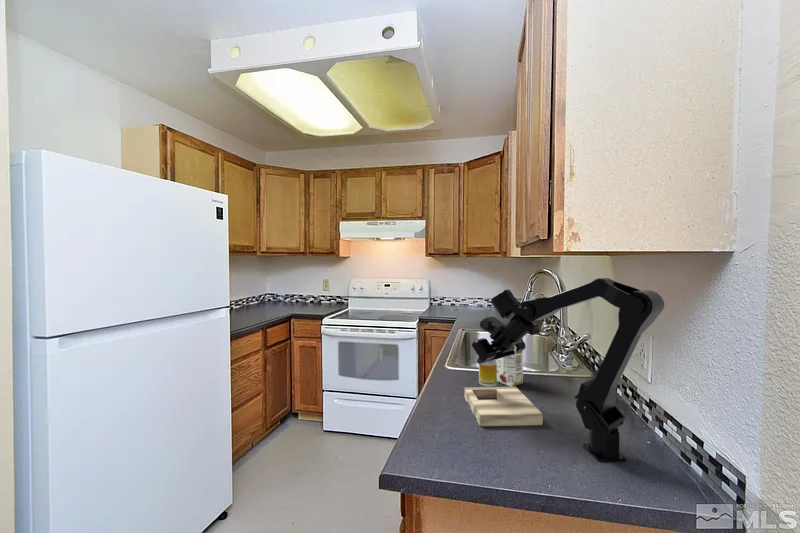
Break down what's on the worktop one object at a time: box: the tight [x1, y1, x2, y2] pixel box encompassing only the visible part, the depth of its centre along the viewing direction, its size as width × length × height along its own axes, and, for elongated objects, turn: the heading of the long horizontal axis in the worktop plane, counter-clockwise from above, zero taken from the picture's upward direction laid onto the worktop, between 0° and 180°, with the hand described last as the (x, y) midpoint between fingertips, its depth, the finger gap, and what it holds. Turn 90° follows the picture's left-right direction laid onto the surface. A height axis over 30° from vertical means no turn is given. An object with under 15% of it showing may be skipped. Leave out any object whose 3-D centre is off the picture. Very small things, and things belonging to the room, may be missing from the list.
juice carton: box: [496, 337, 524, 387], centre depth 125 cm, size 8×9×19 cm
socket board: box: [463, 386, 544, 427], centre depth 103 cm, size 20×17×3 cm
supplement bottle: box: [478, 359, 498, 387], centre depth 107 cm, size 5×5×10 cm
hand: (484, 361), depth 108 cm, fingers closed on supplement bottle, 5 cm apart
